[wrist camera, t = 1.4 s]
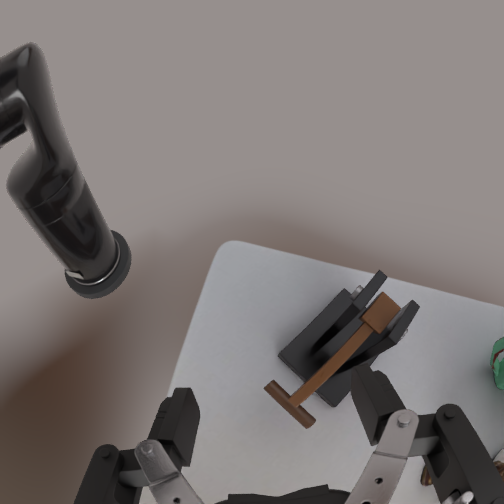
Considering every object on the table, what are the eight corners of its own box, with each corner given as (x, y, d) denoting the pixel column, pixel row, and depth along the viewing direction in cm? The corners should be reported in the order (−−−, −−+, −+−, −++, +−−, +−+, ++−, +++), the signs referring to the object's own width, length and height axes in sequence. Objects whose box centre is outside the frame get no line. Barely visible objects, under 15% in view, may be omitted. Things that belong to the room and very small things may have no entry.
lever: (307, 424, 21) (305, 433, 19) (266, 385, 23) (260, 391, 21) (406, 321, 21) (414, 320, 19) (364, 283, 23) (368, 278, 21)
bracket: (331, 407, 26) (387, 398, 15) (277, 355, 30) (300, 318, 19) (389, 336, 31) (448, 292, 20) (341, 292, 34) (381, 232, 24)
